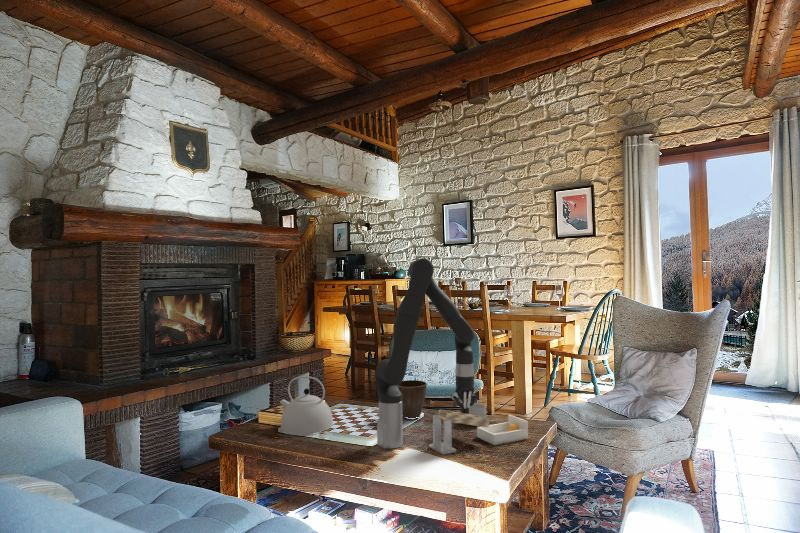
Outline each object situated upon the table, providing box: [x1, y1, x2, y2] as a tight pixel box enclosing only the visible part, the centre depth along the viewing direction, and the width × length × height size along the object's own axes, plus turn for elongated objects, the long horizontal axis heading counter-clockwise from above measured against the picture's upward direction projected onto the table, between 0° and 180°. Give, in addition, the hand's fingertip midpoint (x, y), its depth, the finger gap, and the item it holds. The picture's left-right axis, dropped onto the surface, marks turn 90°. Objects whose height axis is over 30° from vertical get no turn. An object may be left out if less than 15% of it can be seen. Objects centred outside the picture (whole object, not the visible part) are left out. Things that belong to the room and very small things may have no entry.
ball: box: [508, 424, 518, 431], centre depth 213 cm, size 4×4×4 cm
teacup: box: [469, 402, 487, 419], centre depth 233 cm, size 14×11×8 cm
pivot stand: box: [428, 414, 457, 456], centre depth 198 cm, size 6×10×12 cm, turn 27°
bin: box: [476, 414, 529, 446], centre depth 211 cm, size 17×12×7 cm
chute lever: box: [437, 409, 490, 427], centre depth 207 cm, size 20×15×3 cm
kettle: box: [279, 375, 334, 436], centre depth 229 cm, size 25×23×22 cm
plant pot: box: [398, 379, 428, 418], centre depth 242 cm, size 15×15×16 cm
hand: (465, 416), depth 212 cm, fingers closed
